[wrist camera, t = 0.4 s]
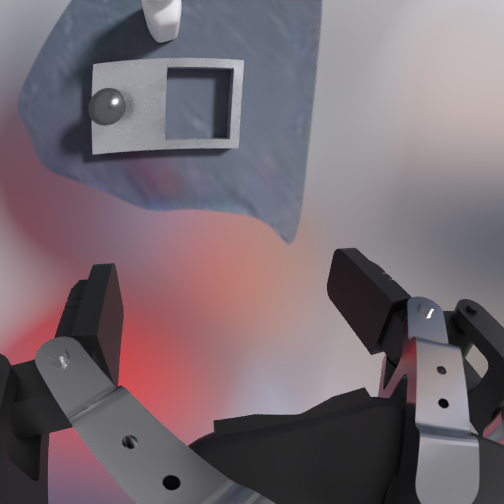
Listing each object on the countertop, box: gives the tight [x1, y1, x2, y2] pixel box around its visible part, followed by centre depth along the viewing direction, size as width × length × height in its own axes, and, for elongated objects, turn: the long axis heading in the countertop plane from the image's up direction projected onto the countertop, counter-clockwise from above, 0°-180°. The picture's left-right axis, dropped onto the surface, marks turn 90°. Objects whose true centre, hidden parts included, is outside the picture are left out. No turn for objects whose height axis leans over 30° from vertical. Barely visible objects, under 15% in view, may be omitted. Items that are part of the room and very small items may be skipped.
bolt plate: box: [88, 58, 244, 154], centre depth 28 cm, size 10×16×6 cm, turn 86°
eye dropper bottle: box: [142, 0, 181, 43], centre depth 20 cm, size 4×6×12 cm
